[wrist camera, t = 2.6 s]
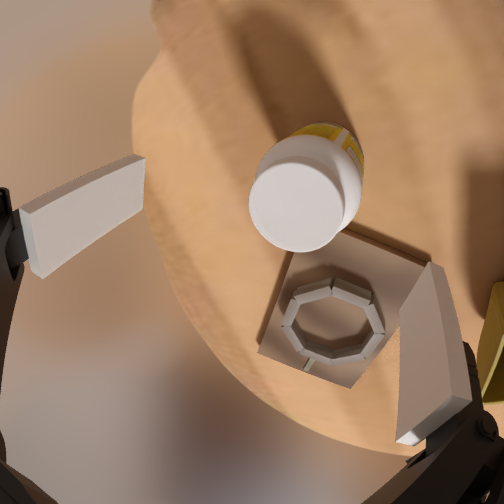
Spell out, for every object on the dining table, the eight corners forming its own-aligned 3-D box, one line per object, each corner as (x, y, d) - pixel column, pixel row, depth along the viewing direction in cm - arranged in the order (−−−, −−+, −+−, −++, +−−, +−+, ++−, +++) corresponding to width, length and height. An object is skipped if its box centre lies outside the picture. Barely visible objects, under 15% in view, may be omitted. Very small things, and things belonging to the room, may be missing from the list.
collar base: (308, 214, 26) (302, 225, 25) (432, 265, 24) (436, 280, 22) (260, 346, 37) (253, 361, 35) (351, 382, 34) (348, 397, 32)
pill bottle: (274, 168, 26) (213, 220, 17) (312, 105, 22) (269, 118, 13) (336, 210, 25) (310, 287, 17) (380, 152, 22) (385, 199, 13)
